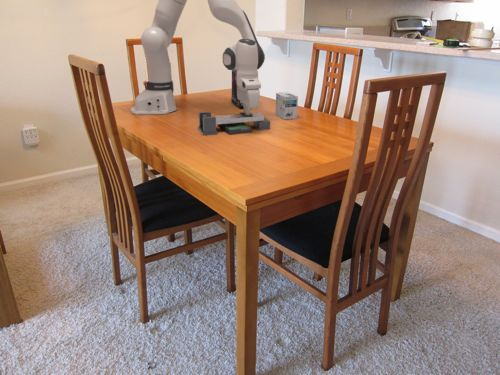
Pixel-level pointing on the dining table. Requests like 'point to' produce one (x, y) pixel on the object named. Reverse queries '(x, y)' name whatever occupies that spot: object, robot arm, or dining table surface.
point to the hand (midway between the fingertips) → (247, 114)
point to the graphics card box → (235, 90)
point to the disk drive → (235, 128)
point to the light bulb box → (286, 105)
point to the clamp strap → (239, 118)
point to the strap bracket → (209, 124)
